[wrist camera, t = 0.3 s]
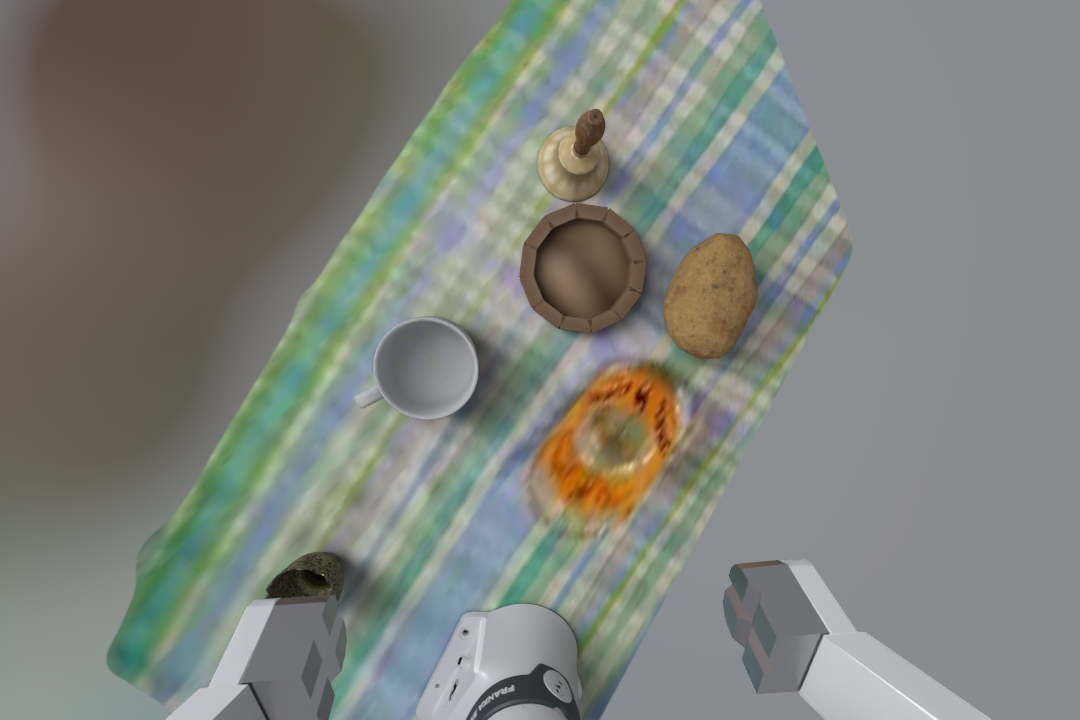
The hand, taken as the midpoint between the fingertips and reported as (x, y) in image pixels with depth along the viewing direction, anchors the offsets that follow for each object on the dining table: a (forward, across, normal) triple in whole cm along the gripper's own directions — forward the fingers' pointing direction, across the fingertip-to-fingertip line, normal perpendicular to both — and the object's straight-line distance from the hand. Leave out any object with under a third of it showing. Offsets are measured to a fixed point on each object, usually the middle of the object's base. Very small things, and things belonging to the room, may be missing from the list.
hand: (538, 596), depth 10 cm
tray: (+50, +9, -10) cm, 51 cm away
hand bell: (+54, +8, +1) cm, 55 cm away
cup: (+37, -24, -42) cm, 61 cm away
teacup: (+46, -10, -20) cm, 51 cm away
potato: (+48, +23, -13) cm, 55 cm away
